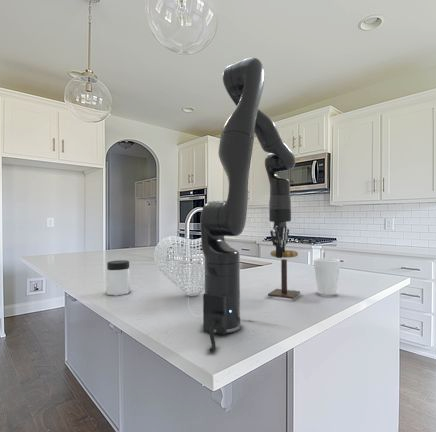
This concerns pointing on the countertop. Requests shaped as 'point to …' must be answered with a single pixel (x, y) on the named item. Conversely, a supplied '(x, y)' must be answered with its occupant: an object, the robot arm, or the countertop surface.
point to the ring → (285, 253)
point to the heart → (170, 239)
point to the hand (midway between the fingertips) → (280, 257)
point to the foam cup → (326, 275)
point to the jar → (118, 277)
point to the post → (284, 284)
